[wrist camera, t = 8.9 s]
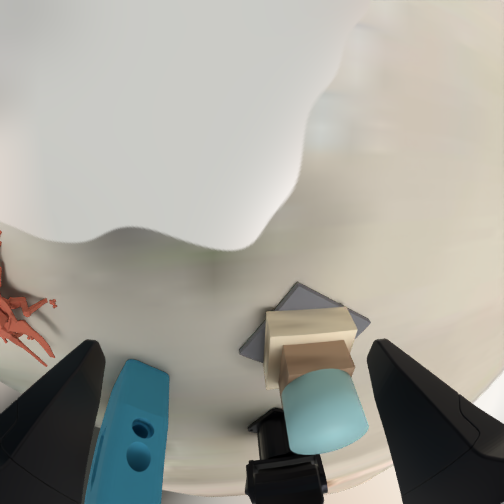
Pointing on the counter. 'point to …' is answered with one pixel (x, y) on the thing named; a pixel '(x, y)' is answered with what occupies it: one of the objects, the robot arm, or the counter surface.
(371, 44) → the counter surface
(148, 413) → the block
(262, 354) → the mat
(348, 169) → the counter surface
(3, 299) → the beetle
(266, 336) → the tower base
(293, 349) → the tower block
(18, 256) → the counter surface
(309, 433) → the light blue cylinder
